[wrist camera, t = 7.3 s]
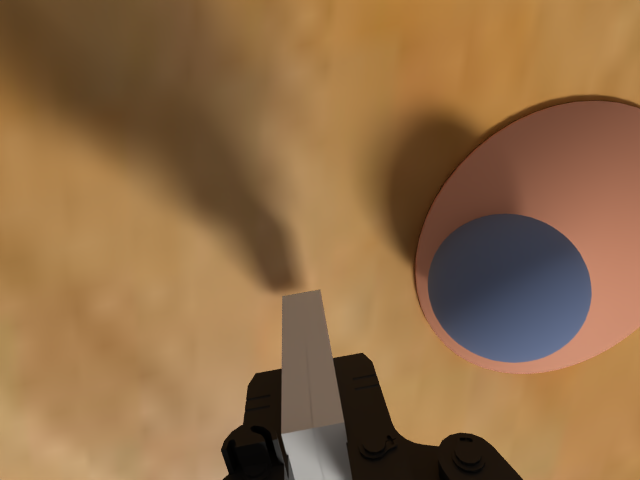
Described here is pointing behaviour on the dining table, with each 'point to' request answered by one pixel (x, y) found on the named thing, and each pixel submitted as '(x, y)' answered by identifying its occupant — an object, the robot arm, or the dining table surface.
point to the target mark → (555, 213)
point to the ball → (509, 288)
